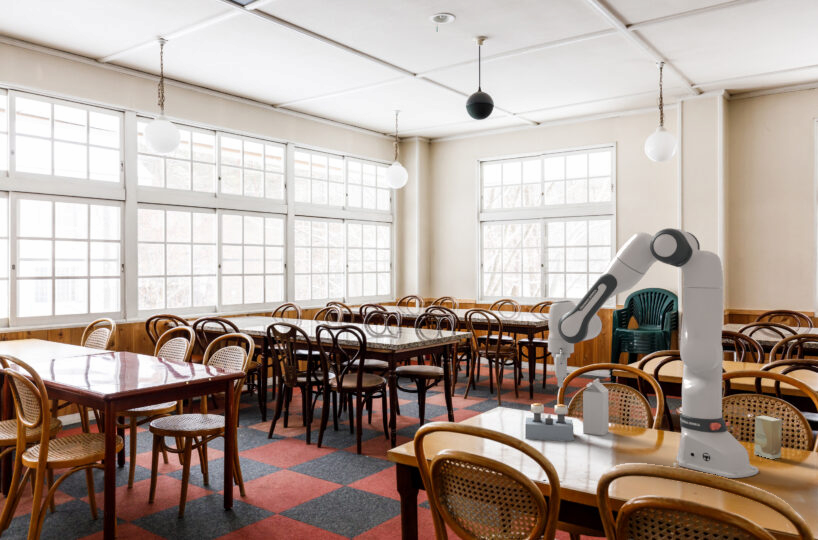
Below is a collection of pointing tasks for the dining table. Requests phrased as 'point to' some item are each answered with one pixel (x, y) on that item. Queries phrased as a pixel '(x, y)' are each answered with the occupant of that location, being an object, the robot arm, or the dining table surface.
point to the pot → (549, 420)
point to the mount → (549, 430)
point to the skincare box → (768, 437)
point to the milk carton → (595, 409)
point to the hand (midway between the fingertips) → (560, 386)
